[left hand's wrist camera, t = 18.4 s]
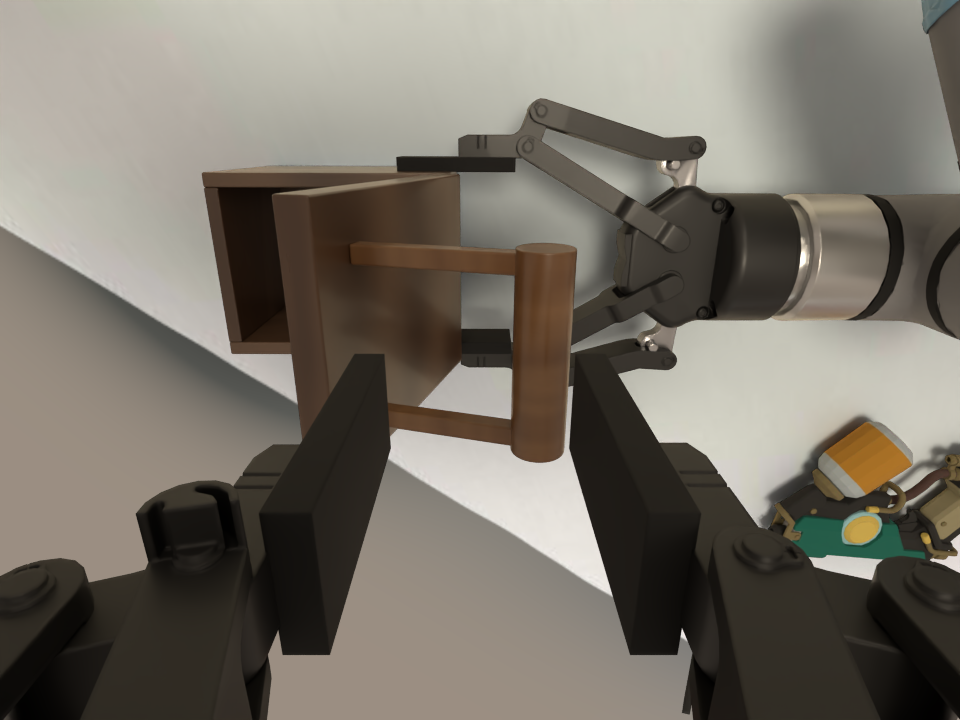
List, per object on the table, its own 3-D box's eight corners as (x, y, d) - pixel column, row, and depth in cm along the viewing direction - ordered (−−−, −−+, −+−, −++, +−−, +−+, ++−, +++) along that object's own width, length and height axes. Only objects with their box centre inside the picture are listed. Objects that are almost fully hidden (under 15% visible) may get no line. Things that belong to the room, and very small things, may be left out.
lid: (307, 487, 20) (549, 533, 17) (269, 193, 16) (568, 203, 14) (441, 357, 32) (594, 374, 30) (436, 173, 28) (610, 176, 26)
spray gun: (1003, 455, 47) (883, 579, 52) (848, 386, 44) (738, 526, 49) (1052, 486, 43) (918, 617, 48) (887, 413, 40) (762, 562, 45)
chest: (287, 306, 42) (230, 354, 32) (270, 165, 38) (200, 172, 29) (458, 307, 42) (452, 354, 32) (456, 166, 38) (449, 172, 29)
